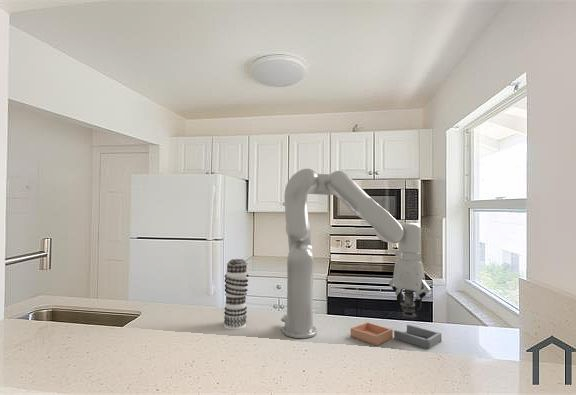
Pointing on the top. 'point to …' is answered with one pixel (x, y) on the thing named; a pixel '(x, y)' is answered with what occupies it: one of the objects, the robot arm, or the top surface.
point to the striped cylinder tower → (235, 294)
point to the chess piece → (408, 304)
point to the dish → (371, 333)
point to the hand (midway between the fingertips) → (408, 307)
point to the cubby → (426, 343)
